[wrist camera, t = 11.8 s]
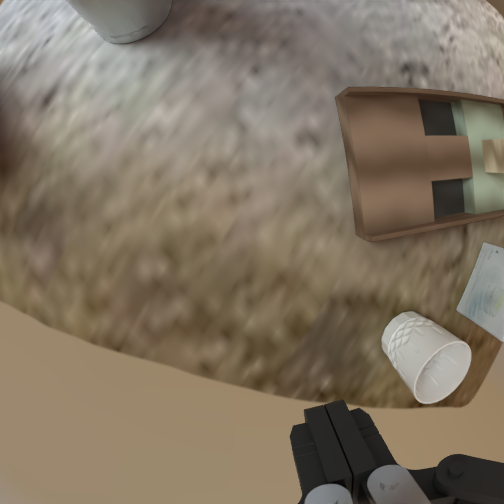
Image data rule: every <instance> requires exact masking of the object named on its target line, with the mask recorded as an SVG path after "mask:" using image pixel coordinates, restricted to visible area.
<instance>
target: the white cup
mask: <svg viewBox="0 0 504 504" xmlns="http://www.w3.org/2000/svg"><path fill="white" fill-rule="evenodd" d="M381 341H382V349H383V351H384V352H385V353H386V355H387V356H388V357H389V359H390V361H391V363H392V365H393V366H394V368H395V370H396V371H397V373H398V374H399V375H400V377H401V378H402V379H403V381H404V382H405V384H406V385H407V387H408V388H409V389H410V391H411V392H412V394H413V395H414V397H415V398H416V399H417V400H418V401H419V402H420V403H424V404H431V403H435V402H438V401H440V400H442V399H444V398H445V397H447V396H448V395H449V394H451V393H452V392H453V391H454V390H455V389H456V388H457V387H458V386H459V384H460V383H461V382H462V380H463V379H464V377H465V376H466V374H467V372H468V369H469V367H470V363H471V350H470V347H469V346H468V344H467V343H465V342H464V341H462V340H461V339H459V338H458V337H456V336H455V335H453V334H452V333H450V332H449V331H447V330H446V329H444V328H443V327H441V326H440V325H438V324H436V323H434V322H433V321H431V320H429V319H427V318H425V317H424V316H422V315H421V314H418V313H416V312H414V311H409V312H403V313H401V314H399V315H398V316H396V317H395V318H393V319H392V320H391V322H390V323H389V324H388V325H387V327H386V328H385V330H384V333H383V336H382V339H381Z"/></svg>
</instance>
